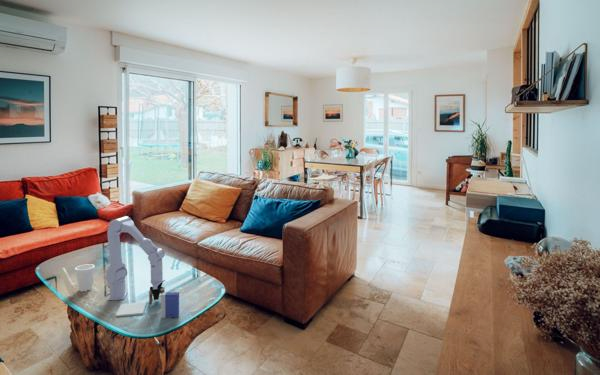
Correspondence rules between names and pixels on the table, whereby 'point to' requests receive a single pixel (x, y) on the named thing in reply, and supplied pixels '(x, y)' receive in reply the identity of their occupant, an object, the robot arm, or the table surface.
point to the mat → (131, 309)
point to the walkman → (169, 304)
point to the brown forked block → (151, 295)
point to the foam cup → (85, 276)
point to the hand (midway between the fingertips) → (157, 296)
